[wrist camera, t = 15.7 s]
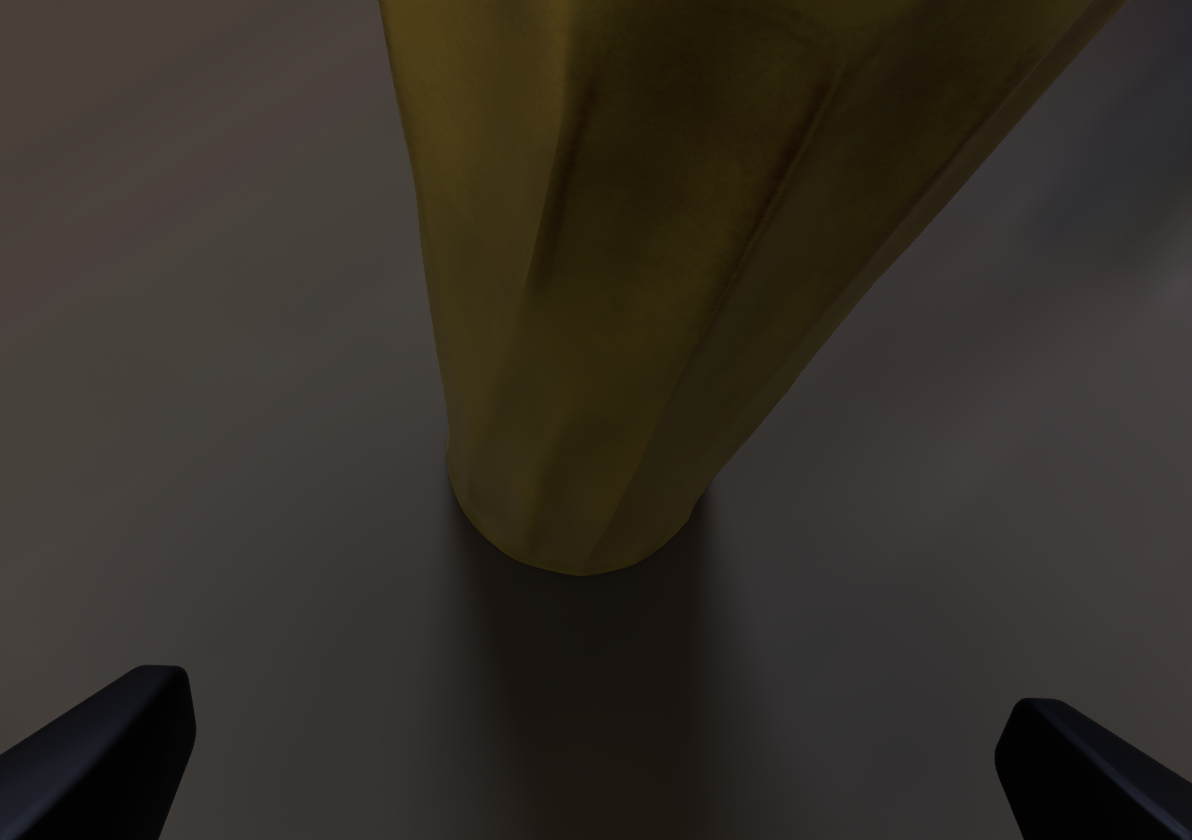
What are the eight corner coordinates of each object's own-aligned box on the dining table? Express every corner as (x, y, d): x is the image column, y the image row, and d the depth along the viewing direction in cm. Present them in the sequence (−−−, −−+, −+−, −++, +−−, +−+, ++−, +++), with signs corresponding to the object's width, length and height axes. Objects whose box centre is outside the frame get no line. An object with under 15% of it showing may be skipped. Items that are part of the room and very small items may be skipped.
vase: (462, 597, 15) (173, 52, 2) (434, 346, 17) (192, -732, 4) (728, 554, 16) (1630, -2, 3) (673, 320, 18) (1085, -615, 5)
